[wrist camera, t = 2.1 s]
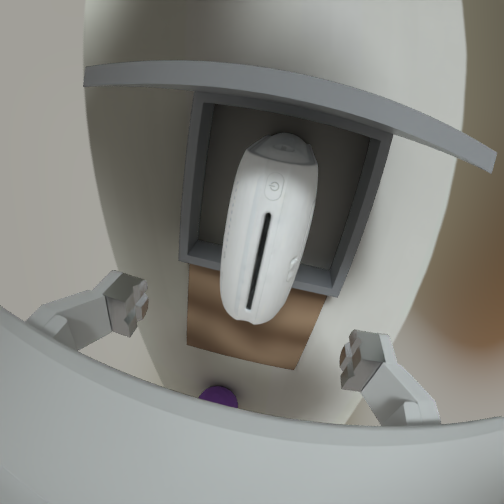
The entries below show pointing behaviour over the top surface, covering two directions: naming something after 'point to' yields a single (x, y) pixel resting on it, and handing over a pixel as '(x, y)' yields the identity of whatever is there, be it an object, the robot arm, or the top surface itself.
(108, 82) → the equipment case
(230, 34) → the top surface
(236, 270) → the photo printer
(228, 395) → the maraca
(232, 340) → the walnut board
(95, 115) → the top surface
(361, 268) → the top surface
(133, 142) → the top surface
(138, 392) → the robot arm
